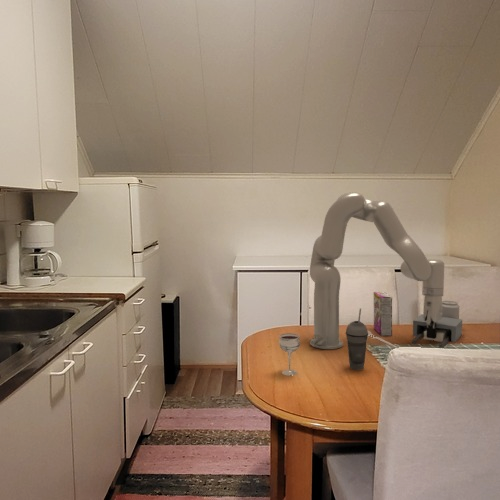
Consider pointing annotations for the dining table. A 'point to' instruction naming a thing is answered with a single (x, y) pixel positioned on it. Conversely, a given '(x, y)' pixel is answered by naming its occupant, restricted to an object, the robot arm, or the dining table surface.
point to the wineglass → (289, 348)
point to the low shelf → (444, 323)
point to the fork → (381, 339)
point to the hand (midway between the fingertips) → (431, 337)
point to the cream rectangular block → (438, 334)
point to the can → (450, 309)
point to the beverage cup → (356, 343)
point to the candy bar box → (383, 313)
